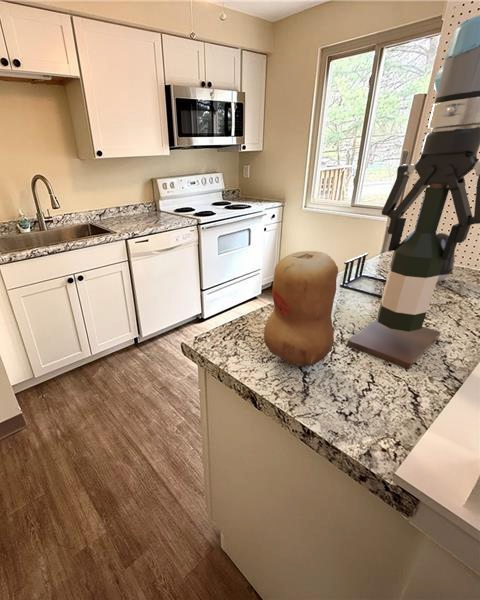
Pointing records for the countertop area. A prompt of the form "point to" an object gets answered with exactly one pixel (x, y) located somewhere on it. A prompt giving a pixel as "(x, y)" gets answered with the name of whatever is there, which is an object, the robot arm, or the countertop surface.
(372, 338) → the cutting board
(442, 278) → the pump dispenser
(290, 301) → the butternut squash
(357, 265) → the dish rack
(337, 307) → the countertop surface
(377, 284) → the countertop surface
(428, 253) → the wine bottle
